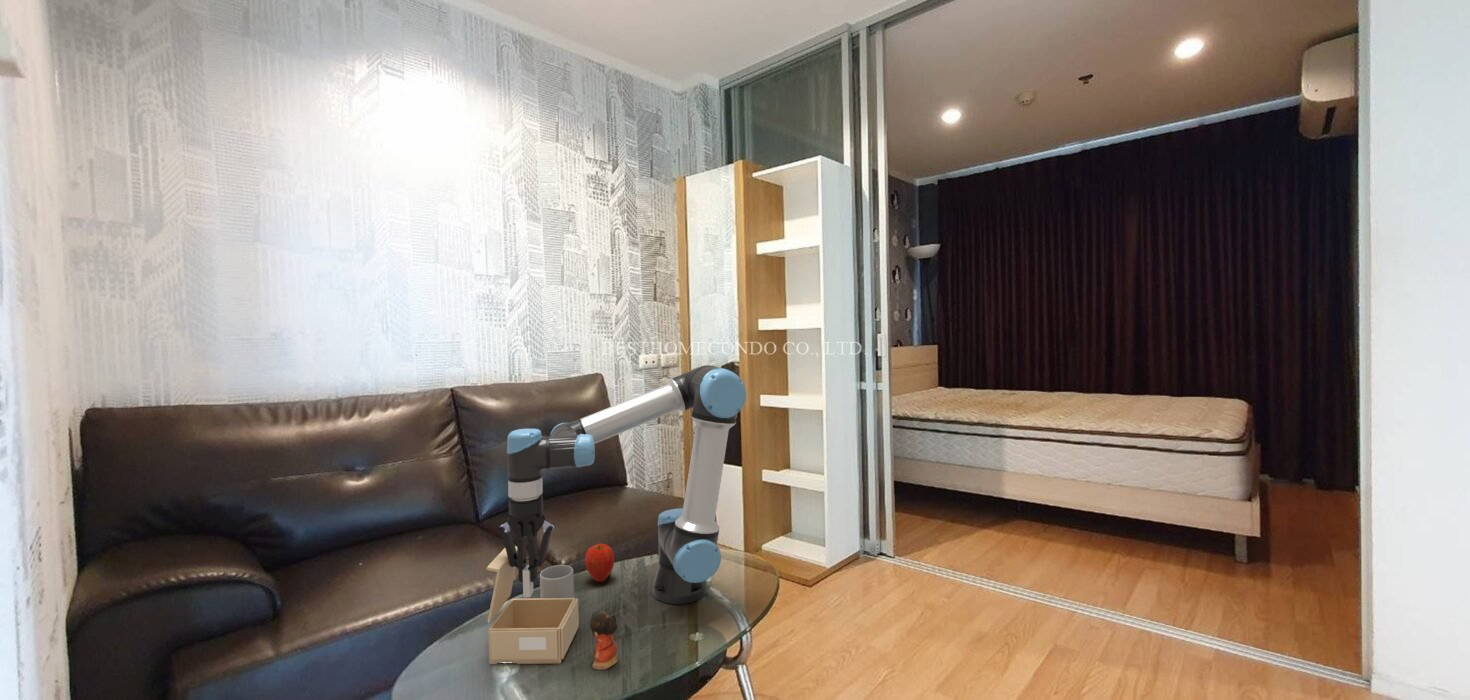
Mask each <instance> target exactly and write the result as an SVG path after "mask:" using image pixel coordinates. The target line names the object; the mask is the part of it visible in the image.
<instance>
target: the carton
mask: <svg viewBox="0 0 1470 700" xmlns="http://www.w3.org/2000/svg"><path fill="white" fill-rule="evenodd" d="M579 615H580V614H579V599H578V598H577V597H576V598H575V597H574V598H540V597H538V598H530V597H527V598H511V599H510V601H509V602H508V603H507V604H506V606H505V607H504V609H502V611H501V613H500V614H499V615H498V617H496V619H495V621H493V623H492V624H491V626H490V627H489V628H488V655H489V659H488V661H489V665H498V664H497V663H501V662H512V663H517V664H516V665H524V664H525V665H528V664H529V665H530V664H531V665H532V664H534V665H535V664H536V665H537V664H538V665H539V664H540V665H541V664H562V662H563V660H564V659H565V656H566V654H567V652H568V651H569V648H570V646H571V643H572V642H573V640H574V637H575V635H576V634H577V631H578V628H579V627H580V623H579V621H580V619H579Z"/></svg>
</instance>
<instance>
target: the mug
mask: <svg viewBox="0 0 1470 700" xmlns="http://www.w3.org/2000/svg"><path fill="white" fill-rule="evenodd" d="M574 581H575V580H574V569H573V567H571V566H570V565H567V564H557V565H552V566H548V567H546V568H544V569H543V570H541V571H540V573H539V591H540V592H539V594H540V595H539V596H540V597H539V598H575V589H574V588H575V584H574V583H575V582H574Z"/></svg>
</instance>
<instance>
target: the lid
mask: <svg viewBox="0 0 1470 700" xmlns="http://www.w3.org/2000/svg"><path fill="white" fill-rule="evenodd" d="M515 548H516V552H517V545H515ZM516 568H517V567H511V566H510V563H509V560H508V556H507V553H506V549H505V547H504V548H503V549H502V550H501V552H499V553H498V554H497V556H496V557H495V558H494V559H493V560H492V561H491V562H490V563H489V564H488V566H486V569H485V570H486V571H488V572H489V571H490V572H493V573H494V572H495V573H496V576H495V582H494V586H493V591H492V597H491V601H490V606H489V607H490V608H489V610H488V611H489V612H488V616H487V623H489V624H490V623H491V622H492V620H493V619H494V618H495V617H496V615H497V614H498V612H499V611H500V610H501V608H503V606H504V604H505V603H506V602H507V600H508V599H509V598H510V597H511V595H512V591H513V590H512V589H513V584H514V581H515V576H516V575H515V574H516Z"/></svg>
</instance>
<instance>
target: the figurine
mask: <svg viewBox="0 0 1470 700" xmlns="http://www.w3.org/2000/svg"><path fill="white" fill-rule="evenodd" d="M589 621H590V622H589V627H590V629H591V632H592V636H593V637H594V638H595V639H596V643H595V648H594V649H595V651H593V655H594V656H593V657H594V662H593V664H592V665H591V668H593V669H595V670H607V669H609V668H611V667H612V666H615V664H617V663H618V660H619V659H618V655H617V653H618V647H617V644H616V643H615V641H614V640H615V639H614V638H615V637H614V636H613V634H614V633H615V632H616V631H617V630H618V624H617V618H616V615H611V614H610V613H608V611H605V610H596V611H594V612H593V613H592V615H591V618H590V620H589Z"/></svg>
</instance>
